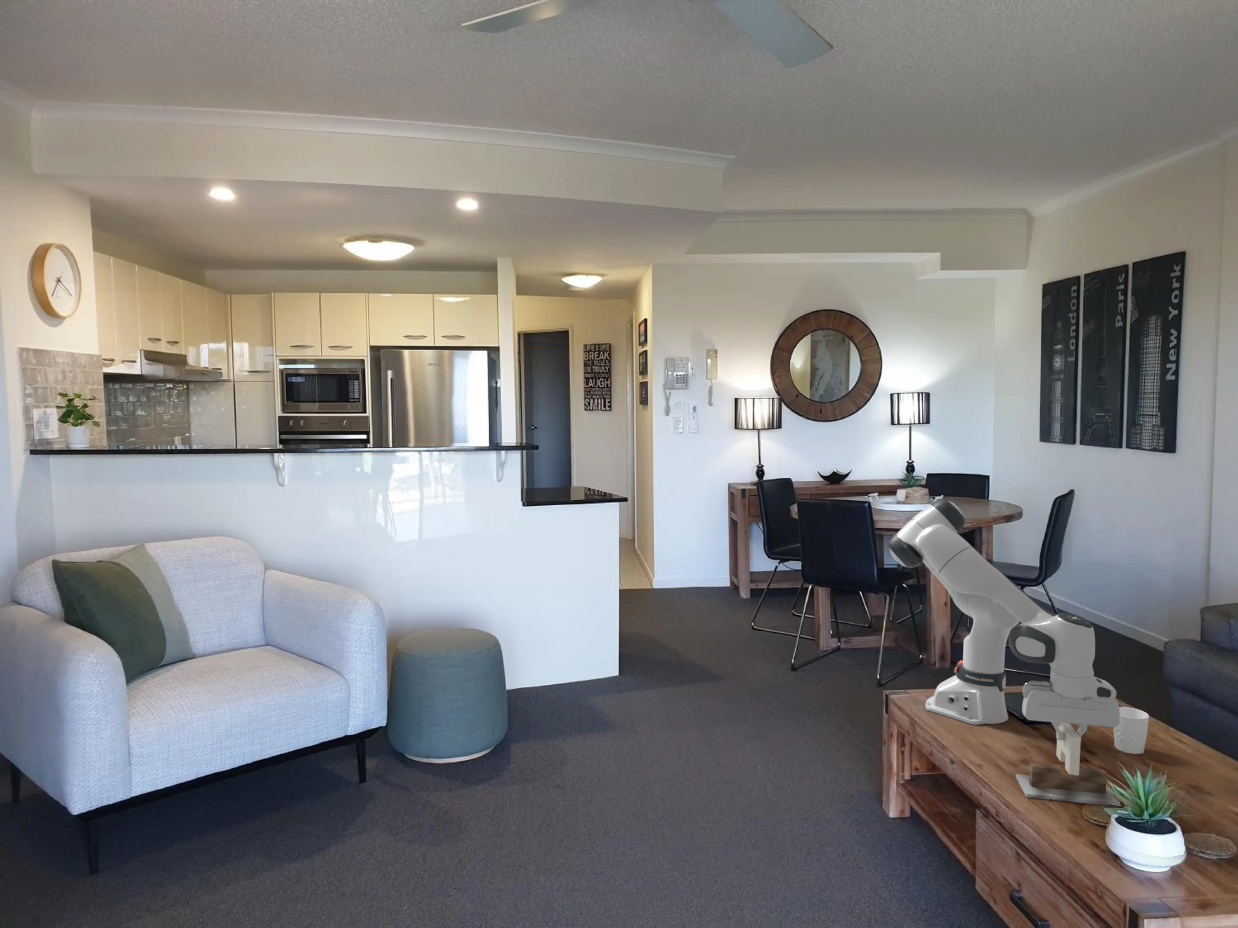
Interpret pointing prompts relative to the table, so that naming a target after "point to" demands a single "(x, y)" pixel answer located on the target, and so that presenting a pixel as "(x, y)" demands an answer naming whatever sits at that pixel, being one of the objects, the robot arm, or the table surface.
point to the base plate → (1066, 785)
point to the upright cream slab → (1069, 749)
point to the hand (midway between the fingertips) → (1068, 740)
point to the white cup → (1131, 730)
